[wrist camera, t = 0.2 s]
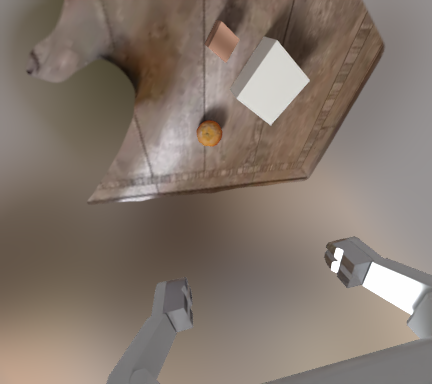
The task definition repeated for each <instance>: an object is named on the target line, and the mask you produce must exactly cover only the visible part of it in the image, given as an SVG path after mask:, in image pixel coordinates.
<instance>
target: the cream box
mask: <svg viewBox="0 0 432 384" xmlns="http://www.w3.org/2000/svg"><path fill="white" fill-rule="evenodd" d="M309 81H310V80H309V79H308V78H307V76H306V75H305V74H304V73H303V71H302V70H301V69H300V68H299V66H298V65H297V64H296V63H295V61H294V60H293V59H292V58H291V57H290V55H289V54H288V53H287V52H286V50H285V49H284V48H283V47H282V45H281V44H280V43H279V42H278V40H275V39H272V38H268V37H263V38H262V40H261V42H260V43H259V45H258V46H257V48H256V49H255V51H254V52H253V54H252V55H251V57H250V58H249V60H248V62H247V63H246V65H245V66H244V68H243V69H242V71H241V72H240V74H239V75H238V77H237V78H236V80H235V82H234V83H233V85H232V86H231V88H230V91H231V92H232V93H233V95H234V96H235V97H236V98H237V99H238V100H239V101H240V102H242V103H243V104H244V105H245V106H247V107H248V108H249V109H250V110H252V111H253V112H254V113H256V114H257V115H258V116H259V117H261V118H262V119H263V120H264V121H266V122H267V123H268V124H270V125H271V124H272V123H273V122H274V121H275V120H276V118H277V117H278V116H279V115H280V114H281V113H282V112H283V111H284V109H285V108H286V107H287V106H288V105H289V104H290V103H291V101H292V100H293V99H294V98H295V97H296V96H297V95H298V93H299V92H300V91H301V90H302V89H303V88H304V87H305V85H306V84H307V83H308V82H309Z"/></svg>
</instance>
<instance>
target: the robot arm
mask: <svg viewBox="0 0 432 384" xmlns="http://www.w3.org/2000/svg"><path fill="white" fill-rule="evenodd" d="M326 248H327V249H328V250H327V251H326V252H325V256H324V258H325V261H326V263H327V265H328V266H329V268H330V269H331V270H333V271H335V272H337V277H338V278H339V279H340V280H341V281H342V283H343V284H344V285H345V286H346V287H347V288H350V287H354V286H358V285H363V286H364V287H366V288H367V289H369V290H371V291H372V292H374V293H376V294H377V295H379V296H381V297H382V298H384V299H386V300H387V301H389V302H391V303H393V304H394V305H396V306H397V307H399V308H401V309H402V310H404V311H406V312H407V313H409V314H411V316H410V318H409V319H408V320H407V325H408V326H409V327H410V328H411V329H412V331H414V333H415V334H416V335H417V336H418V337H419V338H420V339H419V340H415V341H412V342H408V343H405V344H401V345H397V346H394V347H390V348H387V349H384V350H380V351H376V352H373V353H369V354H365V355H362V356H358V357H355V358H351V359H348V360H344V361H341V362H337V363H334V364H330V365H326V366H323V367H319V368H316V369H312V370H309V371H305V372H302V373H298V374H294V375H291V376H287V377H284V378H280V379H277V380H273V381H270V382H266V383H262V384H432V275H430V274H427V273H424V272H422V271H419V270H416V269H414V268H411V267H409V266H406V265H403V264H401V263H398V262H396V261H393V260H390V259H388V258H386V259H384V258H383V257H381V256H380V255H379V254H377V253H376V252H375V251H374V250H372V249H371V248H370V247H369V246H367V245H366V244H365V243H364V242H362V241H361V240H360V239H359V238H357V237H349V238H346V239H340V240H336V241H333V242H329V243H328V244H327V245H326ZM187 283H188V281H187V278H186V277H184V278H180V279H175V280H170V281H165V282H161V283H158V284H157V286H156V291H155V297H154V303H153V309H152V315H151V317H149V318H148V319H147V320H146V322H145V323H144V325H143V326H142V328H141V329H140V331H139V332H138V334H137V335H136V337H135V338H134V340H133V341H132V343H131V344H130V346H129V347H128V348H127V350H126V352H125V353H124V354H123V356H122V358H121V359H120V360H119V362H118V363H117V365H116V366H115V368H114V369H113V371H112V372H111V374H110V375H109V377H108V380H107V384H160V383H159V382H158V381H157V380H156V379H157V377H158V375H159V373H160V370H161V368H162V366H163V363H164V361H165V359H166V357H167V354H168V352H169V350H170V348H171V345H172V343H173V341H174V339H175V336H176V334H177V333H176V332H179V331H182V330H186V329H190V328H193V313H192V310H191V306H192V293H191V289H190V286H189V285H188V284H187Z"/></svg>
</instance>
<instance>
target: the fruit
mask: <svg viewBox="0 0 432 384" xmlns="http://www.w3.org/2000/svg"><path fill="white" fill-rule="evenodd" d="M197 137H198V140H199V142H200V143H202V144H203V145H204V146H215V145H217V144H218V143H219V141H220V140H221V138H222V130H221V127H220V126H219V124H218V123H217V122H215V121H212V120H207V121H204V122H203V123H201V124H200V126H199V127H198V129H197Z"/></svg>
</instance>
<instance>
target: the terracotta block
mask: <svg viewBox="0 0 432 384" xmlns="http://www.w3.org/2000/svg"><path fill="white" fill-rule="evenodd" d="M239 40H240V39H239V38H238V37H237V36H236V35H235V34H234V33H233V32H232V31H231V30H230V29H229V28H228V27H227V26H226V25H225V24H224V23H223V22H222V21H218V20H216V22H215V24H214V26H213V28H212V30H211V32H210V34H209V36H208V38H207V40H206V42H205V45H206V46H207V47H208V48H210V49H211V50H212V51H213V52H214V53H215V54H216V55H218V56H219V57H220V58H221V59H222V60H223V61H224V62H227V60H228V59H229V57H230V55H231V54H232V52H233V50H234V48H235V47H236V45H237V43H238V41H239Z"/></svg>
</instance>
